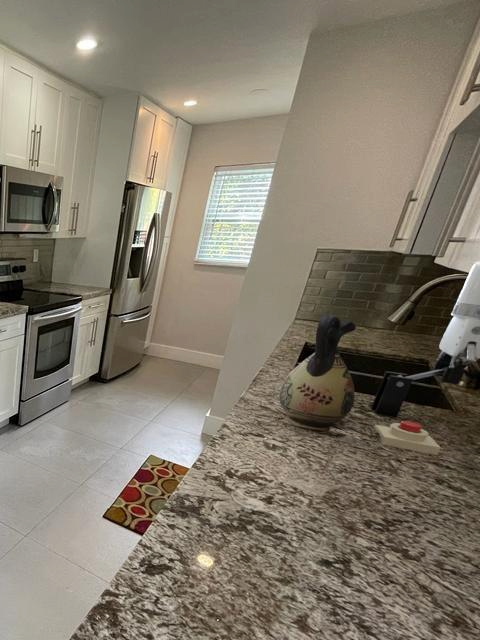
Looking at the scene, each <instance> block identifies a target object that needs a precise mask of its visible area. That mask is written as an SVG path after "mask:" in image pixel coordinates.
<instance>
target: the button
mask: <svg viewBox="0 0 480 640" xmlns="http://www.w3.org/2000/svg"><path fill="white" fill-rule="evenodd" d="M422 427H423V426H422V425H421V424H420V423H416V422H414V421H411V420H410V421H409V420H401V421H400V426H399V428H400V429H402V430H405V431H408V432H413V433H419V432H420V430H421V429H422Z"/></svg>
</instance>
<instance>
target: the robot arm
mask: <svg viewBox="0 0 480 640" xmlns="http://www.w3.org/2000/svg"><path fill="white" fill-rule="evenodd" d="M450 315H451V316H453V317H452V319H450V322H449V324H448V326H447V328H446V330H445V332H444V333H443V335H442V338H441V340H440V342H439V346H438V347H439V354H438V356H437V358H436V361H435V364H434V366H433V367H432V370H431V371H434V370H439V369H441V368H440V366H441V365H448V366H449V367H447V368H446V370H445V372H444V373H443V374H439V375H434V376H435V377H441V379H440V382H441V383H444V384H451V385H459V384H460V382H461V380H462V378H463V376H464V375H465V372H466V371H467V369H468V367H469V366H470V365H471V363H473V362H474V361H475V360H479V359H480V260H478V261H475V262H474V263H473V265H472V267H471V268H470V271H469V273H468V275H467V277H466V280H465V282H464V285H463V287H462V289H461V291H460V293H459V295H458V297H457V300H456V303H455V304H454V306H453V309H452V311H451V314H450ZM459 355H460V356H459ZM434 376H433V377H434Z"/></svg>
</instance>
